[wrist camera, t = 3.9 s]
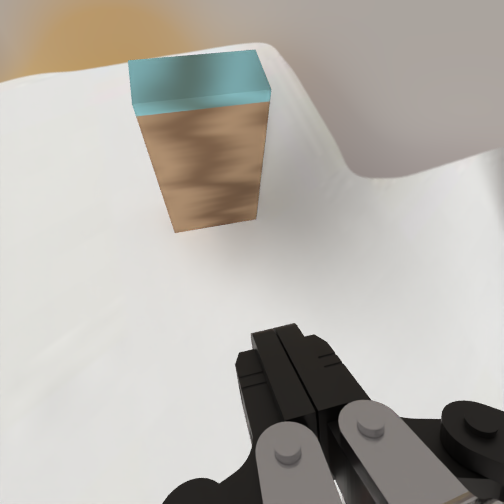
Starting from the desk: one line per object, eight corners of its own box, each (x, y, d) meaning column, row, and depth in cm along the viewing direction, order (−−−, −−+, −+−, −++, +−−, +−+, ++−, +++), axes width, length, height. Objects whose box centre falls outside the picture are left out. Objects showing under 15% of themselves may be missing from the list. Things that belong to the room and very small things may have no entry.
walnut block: (246, 187, 32) (255, 49, 20) (255, 219, 31) (271, 89, 18) (170, 199, 31) (128, 60, 19) (174, 232, 29) (132, 104, 17)
